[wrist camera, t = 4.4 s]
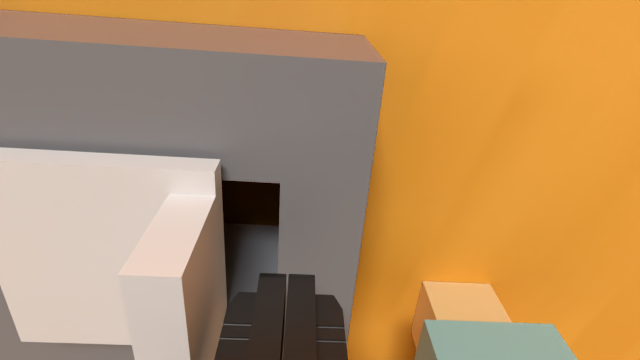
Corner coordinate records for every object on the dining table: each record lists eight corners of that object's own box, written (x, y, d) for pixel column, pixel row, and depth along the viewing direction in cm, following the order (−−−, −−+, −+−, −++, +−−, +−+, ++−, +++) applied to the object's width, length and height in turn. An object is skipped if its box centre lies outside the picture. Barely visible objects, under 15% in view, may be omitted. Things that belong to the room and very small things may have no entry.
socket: (363, 35, 15) (386, 63, 10) (334, 289, 20) (341, 378, 16) (-99, 2, 14) (-291, 16, 10) (0, 276, 19) (-92, 366, 15)
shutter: (220, 159, 11) (178, 247, 8) (228, 329, 14) (200, 450, 10) (-24, 146, 11) (-189, 231, 7) (36, 322, 14) (-61, 445, 10)
